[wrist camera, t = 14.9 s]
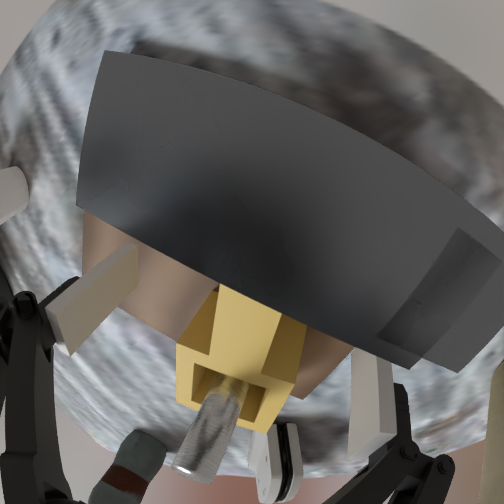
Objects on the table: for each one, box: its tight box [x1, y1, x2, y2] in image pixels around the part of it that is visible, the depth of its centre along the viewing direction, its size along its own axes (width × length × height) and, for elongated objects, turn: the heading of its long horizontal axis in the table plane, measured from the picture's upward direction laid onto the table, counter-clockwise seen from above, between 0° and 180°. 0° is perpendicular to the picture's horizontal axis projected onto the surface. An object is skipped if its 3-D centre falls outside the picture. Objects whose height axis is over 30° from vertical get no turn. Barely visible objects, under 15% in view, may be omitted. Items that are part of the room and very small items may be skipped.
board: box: [82, 211, 354, 400], centre depth 21 cm, size 25×22×2 cm
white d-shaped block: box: [247, 423, 303, 504], centre depth 31 cm, size 17×5×10 cm, turn 176°
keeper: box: [76, 50, 504, 373], centre depth 11 cm, size 11×4×13 cm, turn 69°
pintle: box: [171, 372, 251, 484], centre depth 19 cm, size 2×2×14 cm
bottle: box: [88, 430, 167, 504], centre depth 34 cm, size 9×9×30 cm
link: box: [176, 284, 307, 434], centre depth 18 cm, size 20×8×6 cm, turn 169°
